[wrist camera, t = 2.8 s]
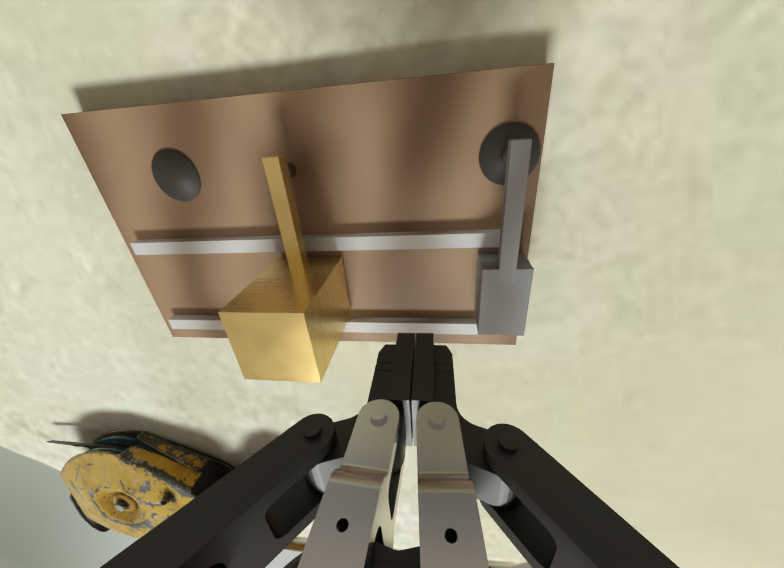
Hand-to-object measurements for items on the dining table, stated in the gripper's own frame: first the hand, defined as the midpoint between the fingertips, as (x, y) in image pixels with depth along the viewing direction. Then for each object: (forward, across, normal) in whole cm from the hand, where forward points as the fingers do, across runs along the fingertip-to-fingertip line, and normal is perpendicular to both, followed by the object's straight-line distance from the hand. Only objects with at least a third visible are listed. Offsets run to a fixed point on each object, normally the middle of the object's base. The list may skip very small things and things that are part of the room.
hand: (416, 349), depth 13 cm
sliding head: (+6, +7, -3) cm, 9 cm away
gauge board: (+8, +7, -3) cm, 10 cm away
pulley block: (+8, +26, +25) cm, 37 cm away
